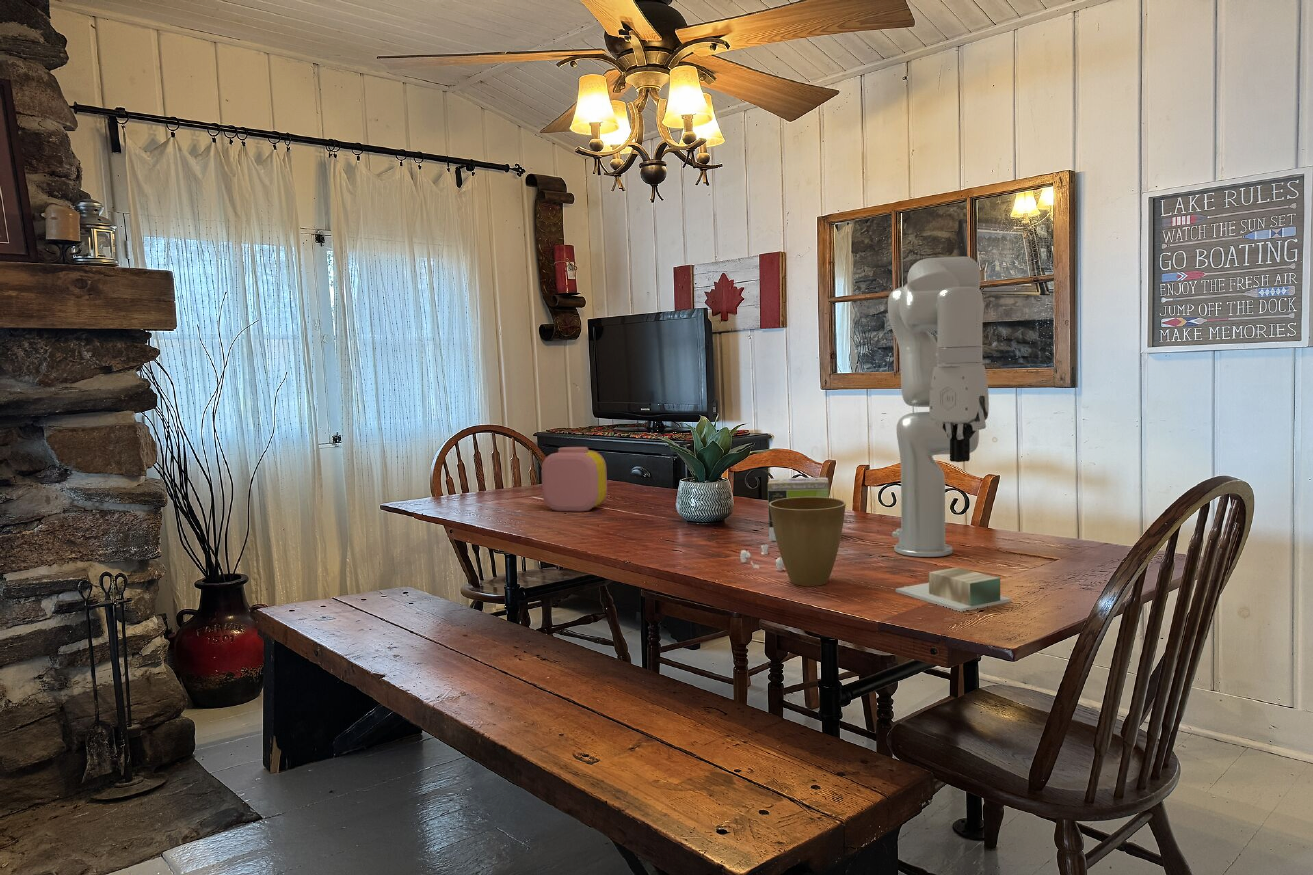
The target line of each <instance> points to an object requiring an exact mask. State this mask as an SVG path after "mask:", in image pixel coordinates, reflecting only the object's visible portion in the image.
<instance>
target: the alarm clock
mask: <svg viewBox="0 0 1313 875" xmlns="http://www.w3.org/2000/svg"><path fill="white" fill-rule="evenodd" d="M540 472H541V493H542V498H543V501H544V503H545V504H546V505H547V507H549V508H550V509H551V510H553V511H557V512H574V513H575V512H576V513H577V512H581V513H583V512H589V511H590V510H592V508H596V507H598V506H600V505H602V504H603V503H604V501H605V499H606V497H607V494H608V478H607V477H608V476H607V474H608V473H607V463H606V460H605V459H604V457H603V455H601V454H600V453H599V452H598V451H595V450H590V449H589V448H588V447H587V446H564V447H563V446H562V447H559V448H557V452H555V453H551V454H549V455H548V456H546V457H545V459H544V460H543V461H542V464H541V471H540Z"/></svg>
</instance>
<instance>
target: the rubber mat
mask: <svg viewBox="0 0 1313 875" xmlns="http://www.w3.org/2000/svg"><path fill="white" fill-rule="evenodd" d="M895 593H898V594H901V595H904V596H908V597H912V598H913V599H918V600H921V601H923V602H928V603H930V604H933V605H936V604H937V606H939V607H943V606H944V607H943V608H946V607H947V608H946V609H949V608H951V609H950V610H952V609H953V610H952V611H956V610H957V611H956V612H959V611H960V612H959V613H963V611H964V612H967V611H966V610H969V611H973V610H977V608H978V609H982V608H988V607H993V606H998V605H1002V604H1006V603H1010V602H1011V598H1010V597H1007V596H1006V597H1005V596H1004V595H1003V596H1002V595H1000V601H996V602H991V603H986V604H981V605H976V606H968V605H965V604H961V603H958V602H955V601H951V600H948V599H945V598H942V597H938V596H935V595H932V594H929V582H926V583H925V582H924V583H920V584H915V585H909V586H903V587H898V588H895ZM987 606H988V607H987Z"/></svg>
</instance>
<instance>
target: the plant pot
mask: <svg viewBox="0 0 1313 875" xmlns="http://www.w3.org/2000/svg"><path fill="white" fill-rule="evenodd" d="M846 505H847V503H846V501H845V500H842V499H839V498H835V497H829V498H828V497H793V498H784V499H779V500H775V501H772V502H770V503H769V507H770V513H771V518H772V524H773V529H774V533H775V537H776V541H775V542H776V544H777V548H778V550H779V555H780V558H782V561H783V563H784V564H783V565H784V566H783V567H784V568H785V572H786V574H787V576H788V579H789V581H790V583H792V584H794V585H796V586H801V587H816V586H817V587H818V586H823V585H826V584H827V583H828V582H829V581H830V577H831V575H832V572H833V569H834V566H835V563H836V559H837V556H838V551H839V549H840V548H839V547H840V543H841V540H842V538H841V537H842V535H843V534H842V533H843V527H844V523H845V522H844V521H845V514H846Z"/></svg>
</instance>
